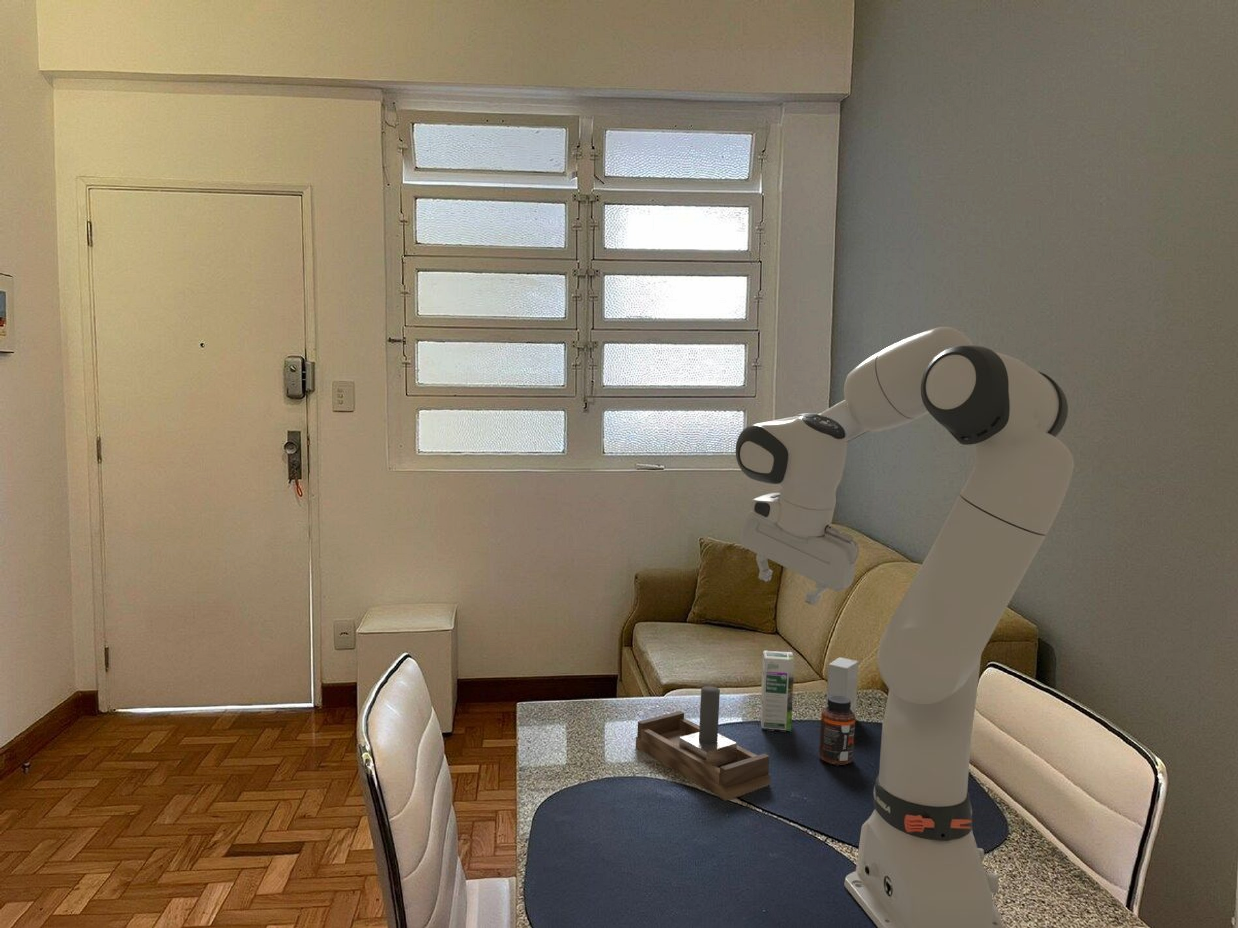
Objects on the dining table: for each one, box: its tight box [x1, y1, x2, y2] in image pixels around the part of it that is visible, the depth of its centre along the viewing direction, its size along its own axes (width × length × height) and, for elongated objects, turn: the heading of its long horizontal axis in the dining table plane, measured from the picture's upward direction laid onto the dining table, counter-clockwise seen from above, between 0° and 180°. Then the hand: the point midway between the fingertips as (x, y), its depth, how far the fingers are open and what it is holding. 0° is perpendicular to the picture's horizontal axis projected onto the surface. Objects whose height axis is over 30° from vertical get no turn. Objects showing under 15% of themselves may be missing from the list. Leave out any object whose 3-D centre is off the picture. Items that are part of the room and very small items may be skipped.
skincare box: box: [825, 656, 859, 717], centre depth 173 cm, size 6×4×12 cm
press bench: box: [635, 710, 771, 801], centre depth 150 cm, size 24×10×5 cm, turn 36°
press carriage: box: [679, 685, 738, 766], centre depth 148 cm, size 7×7×12 cm
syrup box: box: [759, 650, 795, 731], centre depth 169 cm, size 6×6×14 cm
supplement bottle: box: [818, 695, 856, 765], centre depth 154 cm, size 6×6×11 cm
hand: (787, 591), depth 143 cm, fingers open, 8 cm apart
